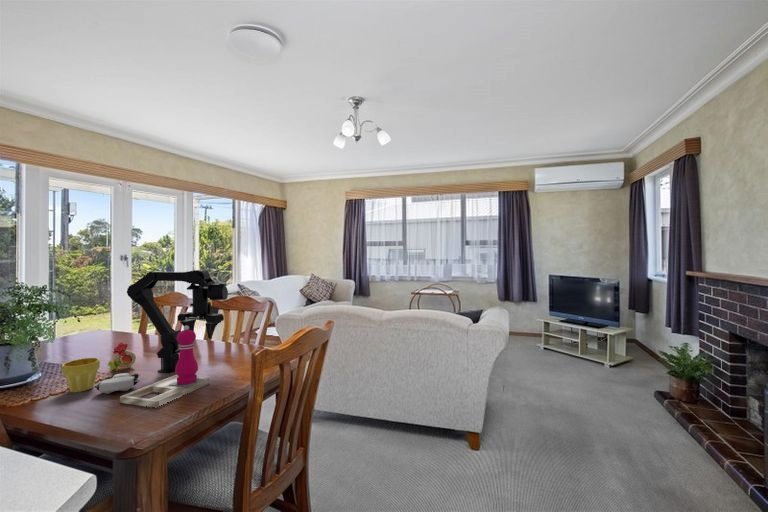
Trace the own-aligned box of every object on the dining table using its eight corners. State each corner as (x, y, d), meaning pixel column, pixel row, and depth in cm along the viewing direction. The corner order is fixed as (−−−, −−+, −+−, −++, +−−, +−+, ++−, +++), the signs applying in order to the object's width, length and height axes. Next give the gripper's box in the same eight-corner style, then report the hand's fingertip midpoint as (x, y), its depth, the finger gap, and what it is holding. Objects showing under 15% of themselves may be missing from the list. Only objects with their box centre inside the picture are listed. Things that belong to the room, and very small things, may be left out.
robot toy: (102, 387, 135) (92, 398, 122) (102, 374, 135) (92, 384, 122) (142, 381, 141) (137, 392, 127) (142, 369, 141) (136, 378, 128)
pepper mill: (202, 378, 134) (202, 323, 134) (189, 385, 127) (188, 328, 126) (185, 377, 135) (184, 323, 135) (170, 384, 128) (169, 327, 128)
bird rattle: (129, 370, 157) (105, 365, 153) (141, 345, 159) (118, 339, 155) (128, 375, 152) (103, 369, 147) (141, 349, 154) (116, 343, 149)
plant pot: (59, 397, 124) (58, 368, 123) (65, 387, 132) (65, 360, 132) (98, 390, 129) (97, 362, 129) (101, 381, 138) (101, 355, 138)
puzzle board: (120, 402, 119) (120, 395, 119) (177, 379, 140) (176, 373, 140) (156, 408, 114) (156, 400, 114) (209, 383, 135) (209, 377, 135)
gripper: (232, 298, 156) (233, 335, 156) (197, 297, 161) (197, 332, 161) (213, 302, 145) (214, 341, 145) (176, 300, 151) (176, 338, 151)
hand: (200, 338), depth 151 cm, fingers open, 9 cm apart
